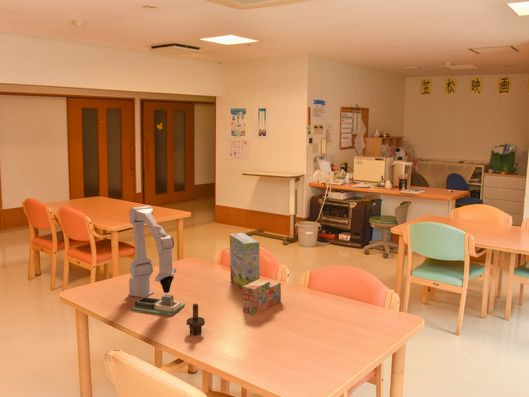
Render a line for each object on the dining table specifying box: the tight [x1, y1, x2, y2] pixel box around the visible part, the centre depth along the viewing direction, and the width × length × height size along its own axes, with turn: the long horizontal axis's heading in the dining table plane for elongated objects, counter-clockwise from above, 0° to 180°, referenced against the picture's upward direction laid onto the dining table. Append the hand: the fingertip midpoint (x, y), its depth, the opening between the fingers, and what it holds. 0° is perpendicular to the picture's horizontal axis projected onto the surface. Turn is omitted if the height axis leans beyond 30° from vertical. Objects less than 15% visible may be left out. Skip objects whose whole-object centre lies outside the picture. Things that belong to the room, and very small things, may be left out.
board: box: [130, 296, 186, 317], centre depth 228 cm, size 20×13×3 cm, turn 70°
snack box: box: [228, 232, 261, 291], centre depth 257 cm, size 22×9×26 cm, turn 25°
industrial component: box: [186, 303, 206, 336], centre depth 202 cm, size 9×7×12 cm
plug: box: [161, 293, 175, 307], centre depth 226 cm, size 4×3×6 cm
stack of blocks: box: [242, 278, 282, 316], centre depth 230 cm, size 21×6×12 cm, turn 144°
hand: (166, 292), depth 225 cm, fingers closed
